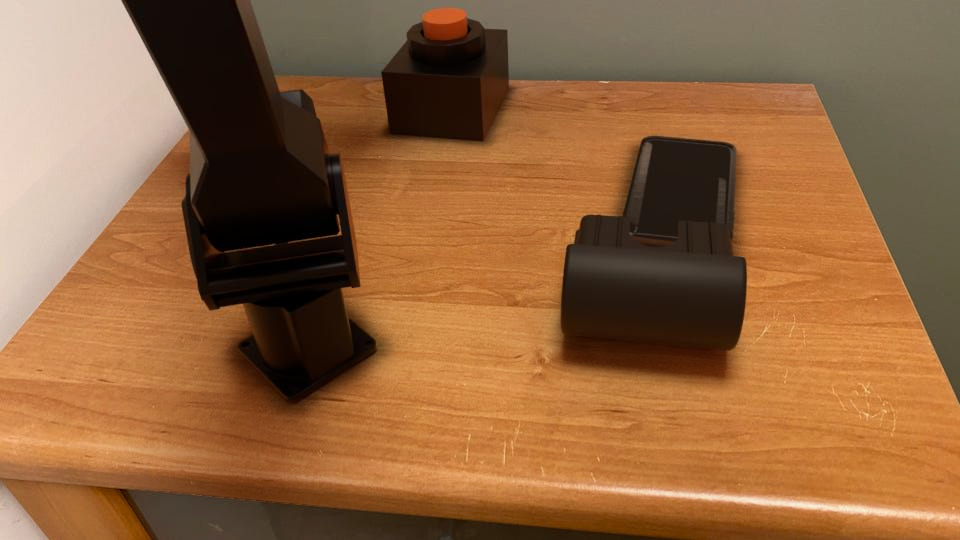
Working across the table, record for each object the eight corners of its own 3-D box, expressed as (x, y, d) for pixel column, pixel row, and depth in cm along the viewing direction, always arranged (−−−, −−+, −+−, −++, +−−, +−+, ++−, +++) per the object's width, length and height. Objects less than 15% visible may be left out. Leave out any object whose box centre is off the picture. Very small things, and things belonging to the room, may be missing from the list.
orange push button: (461, 44, 64) (460, 24, 63) (418, 42, 65) (416, 22, 64) (472, 27, 67) (471, 8, 66) (431, 25, 68) (429, 6, 67)
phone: (617, 234, 52) (643, 133, 63) (616, 247, 53) (641, 145, 64) (733, 249, 50) (738, 142, 61) (730, 262, 51) (736, 154, 62)
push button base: (483, 142, 66) (479, 57, 61) (389, 134, 68) (378, 51, 63) (509, 89, 74) (507, 10, 69) (424, 84, 76) (416, 7, 71)
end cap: (558, 362, 44) (560, 276, 40) (570, 287, 50) (573, 204, 45) (730, 380, 42) (751, 292, 38) (722, 300, 48) (741, 215, 43)
